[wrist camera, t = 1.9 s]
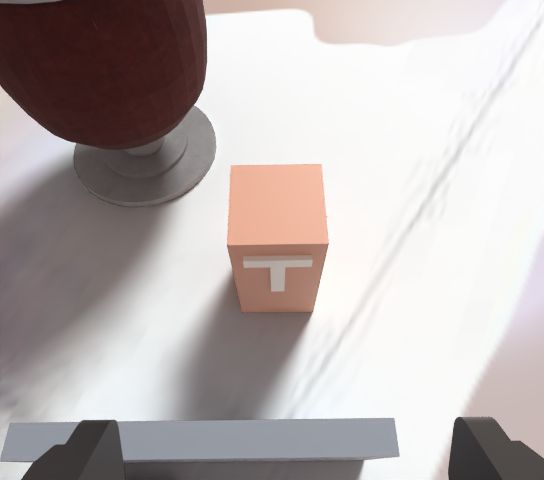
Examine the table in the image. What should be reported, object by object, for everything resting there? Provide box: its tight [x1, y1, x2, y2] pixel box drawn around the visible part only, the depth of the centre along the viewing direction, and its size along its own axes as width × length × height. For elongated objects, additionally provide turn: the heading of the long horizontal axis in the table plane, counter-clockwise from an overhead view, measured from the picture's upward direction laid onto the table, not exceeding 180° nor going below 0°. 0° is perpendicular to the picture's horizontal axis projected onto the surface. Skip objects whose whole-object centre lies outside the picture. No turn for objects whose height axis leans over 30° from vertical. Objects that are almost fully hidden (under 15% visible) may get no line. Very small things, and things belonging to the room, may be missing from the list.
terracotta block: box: [227, 164, 329, 313], centre depth 26 cm, size 5×5×10 cm
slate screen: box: [0, 418, 400, 463], centre depth 21 cm, size 17×2×8 cm, turn 91°
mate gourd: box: [0, 0, 216, 207], centre depth 27 cm, size 16×14×20 cm
